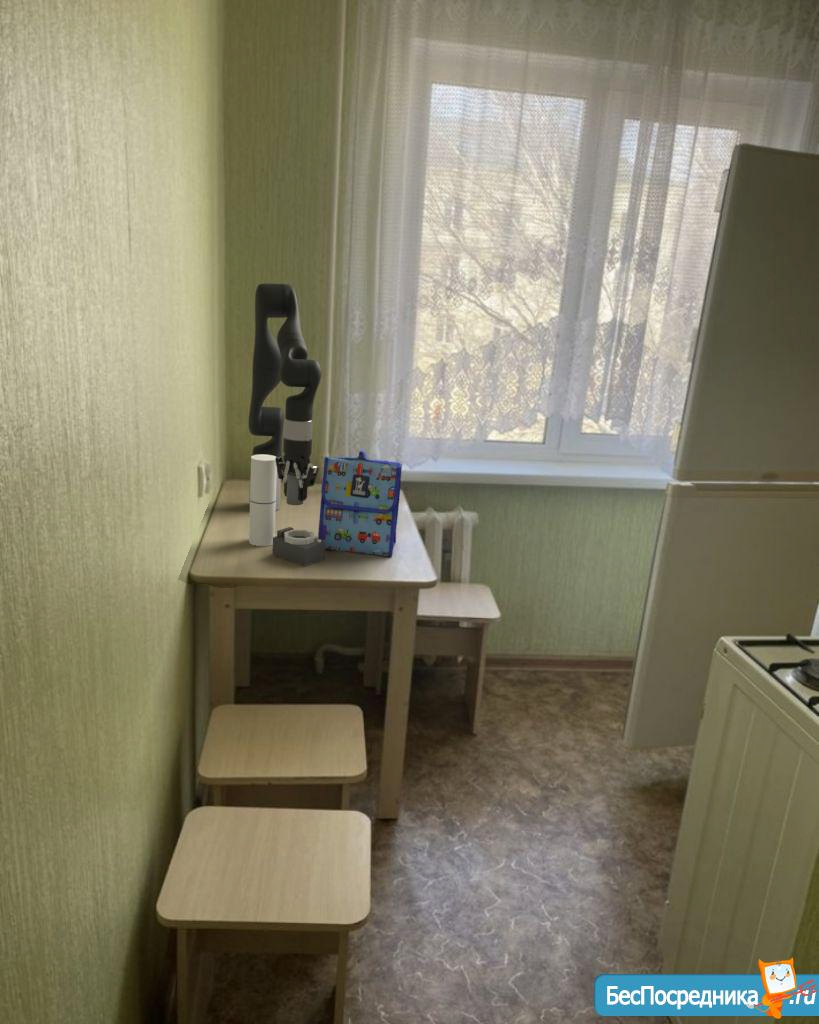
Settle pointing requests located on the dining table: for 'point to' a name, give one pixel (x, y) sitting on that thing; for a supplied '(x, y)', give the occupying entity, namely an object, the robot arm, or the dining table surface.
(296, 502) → the lens
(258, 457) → the cylindrical container
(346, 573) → the dining table surface
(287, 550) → the camera body
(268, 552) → the dining table surface
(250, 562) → the dining table surface
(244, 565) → the dining table surface
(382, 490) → the lunch bag
